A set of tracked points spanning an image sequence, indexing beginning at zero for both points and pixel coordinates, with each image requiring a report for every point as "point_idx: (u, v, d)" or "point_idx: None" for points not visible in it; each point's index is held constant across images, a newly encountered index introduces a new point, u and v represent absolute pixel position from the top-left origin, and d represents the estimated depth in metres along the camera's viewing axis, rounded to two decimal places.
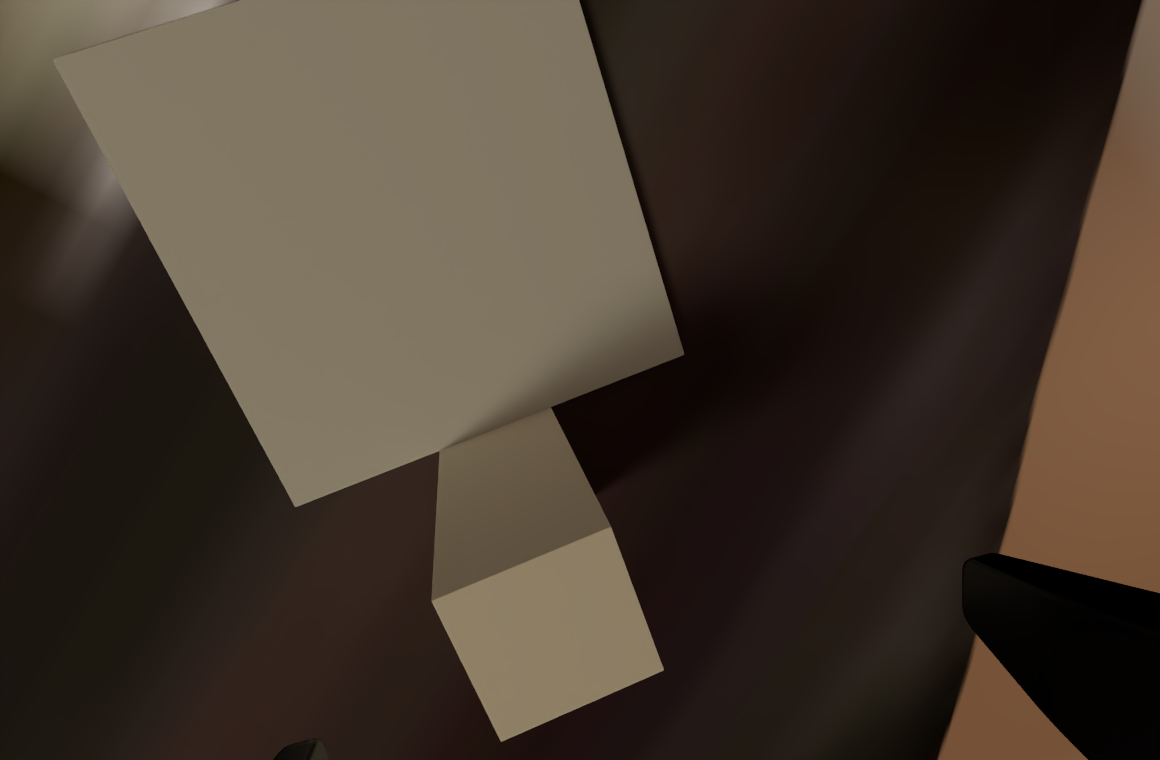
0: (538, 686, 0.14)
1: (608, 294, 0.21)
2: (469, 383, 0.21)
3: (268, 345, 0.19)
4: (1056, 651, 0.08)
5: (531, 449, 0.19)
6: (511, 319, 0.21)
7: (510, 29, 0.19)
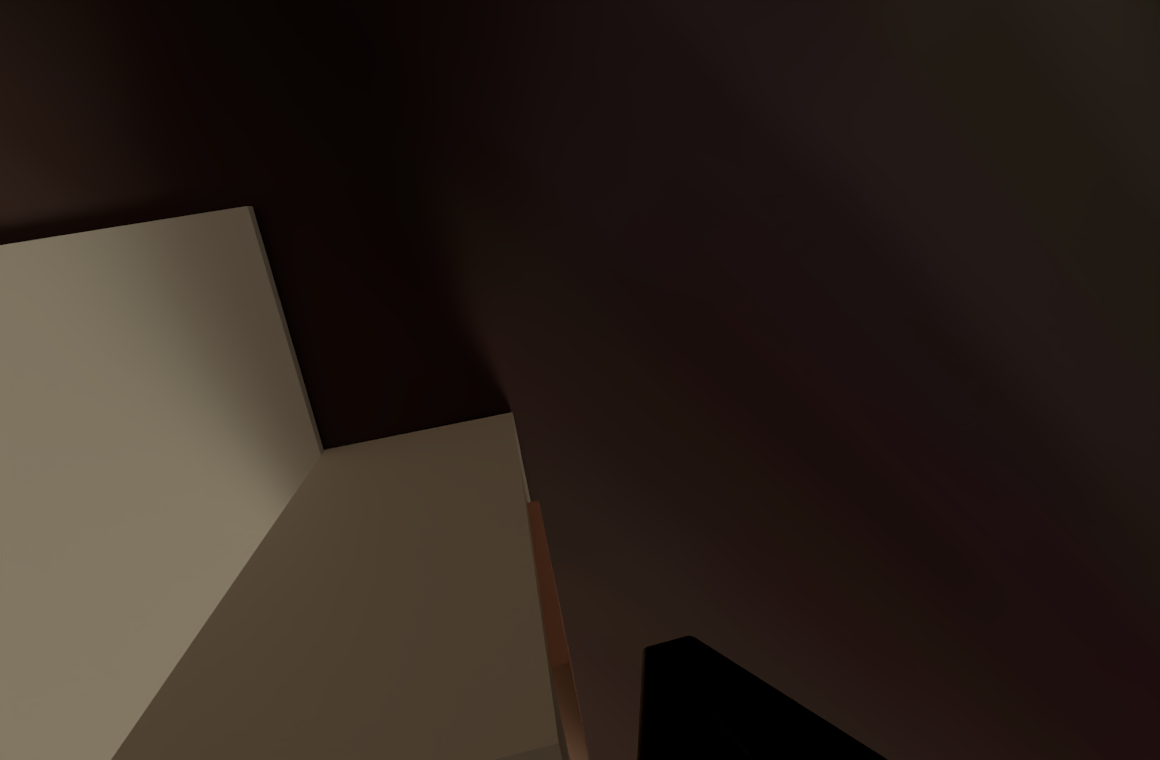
0: None
1: (114, 335, 0.12)
2: None
3: None
4: None
5: None
6: (154, 500, 0.13)
7: None
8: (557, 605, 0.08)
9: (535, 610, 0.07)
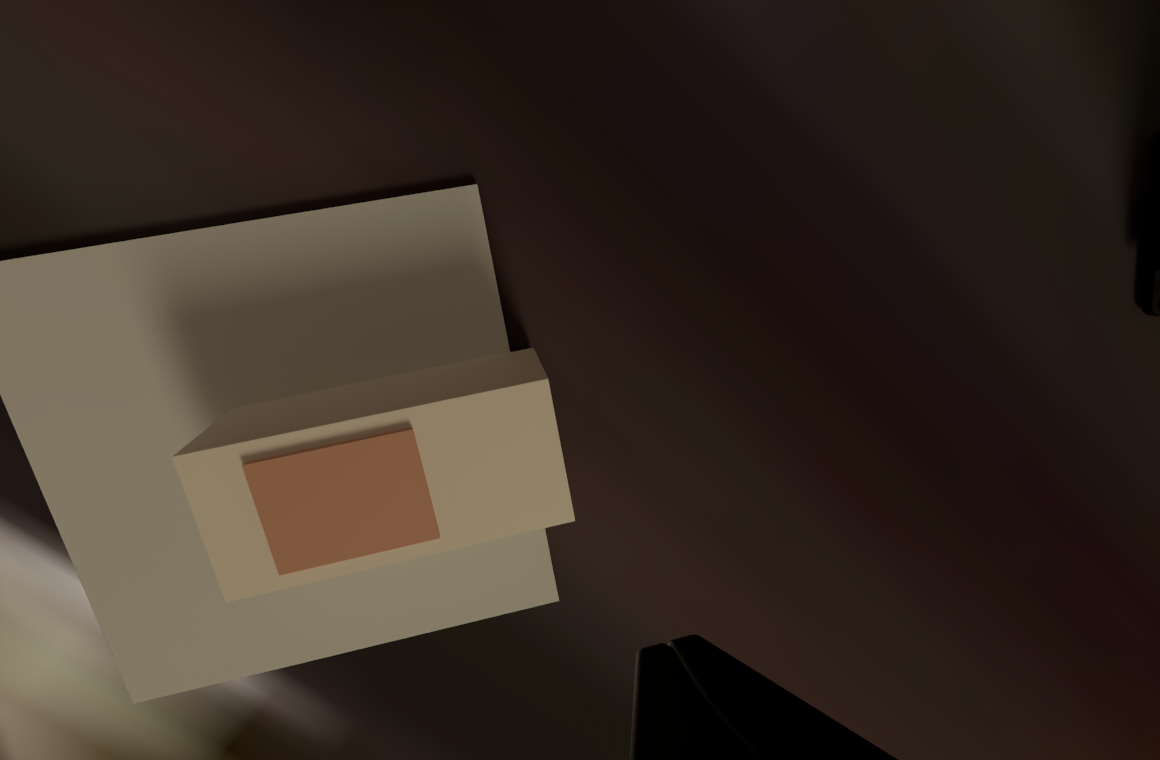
0: None
1: (389, 267, 0.18)
2: None
3: (397, 596, 0.21)
4: None
5: None
6: None
7: (87, 332, 0.18)
8: (288, 456, 0.15)
9: (251, 439, 0.15)
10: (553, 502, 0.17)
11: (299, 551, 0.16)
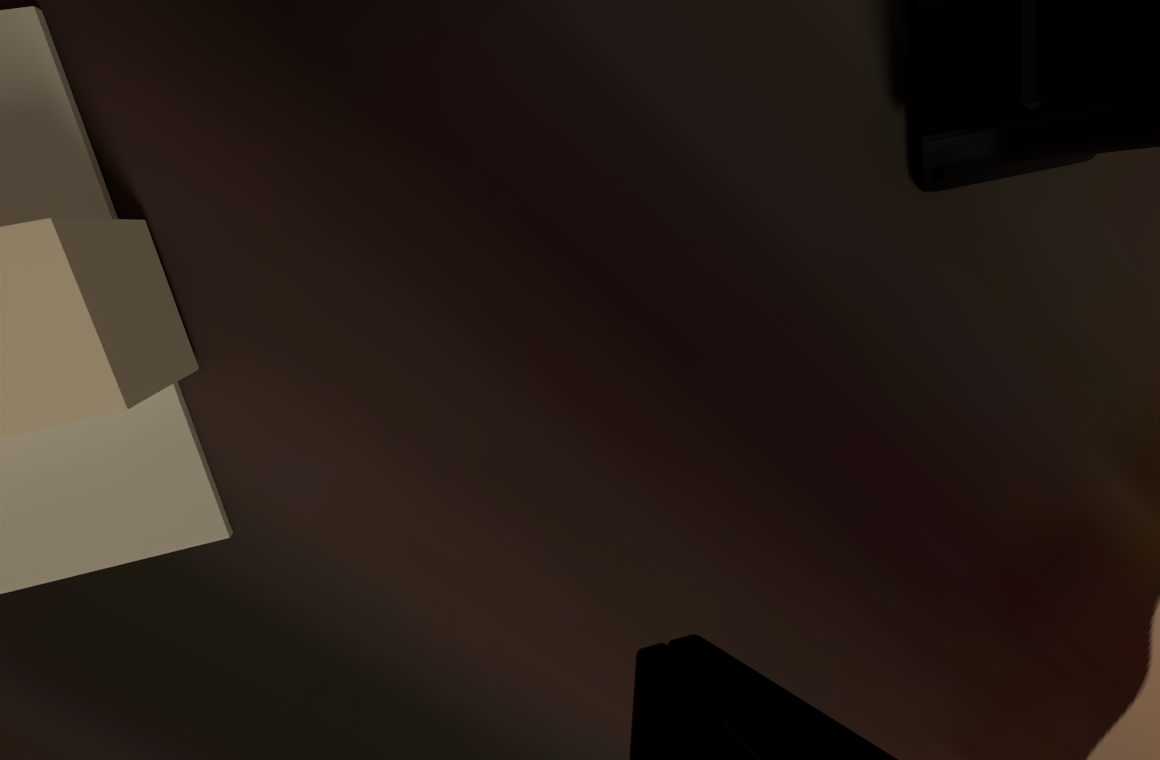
0: None
1: None
2: None
3: (11, 535, 0.17)
4: None
5: None
6: None
7: None
8: None
9: None
10: (91, 384, 0.13)
11: None
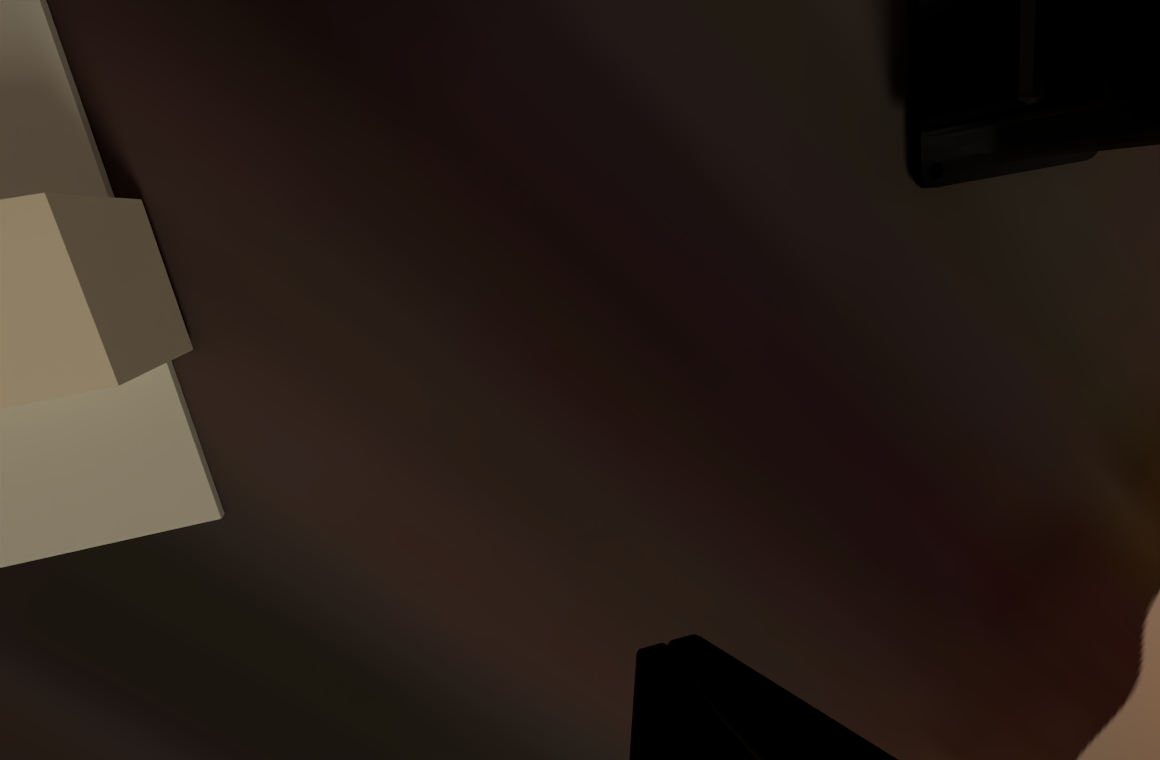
0: None
1: None
2: None
3: (4, 511, 0.17)
4: None
5: None
6: None
7: None
8: None
9: None
10: (82, 360, 0.13)
11: None
